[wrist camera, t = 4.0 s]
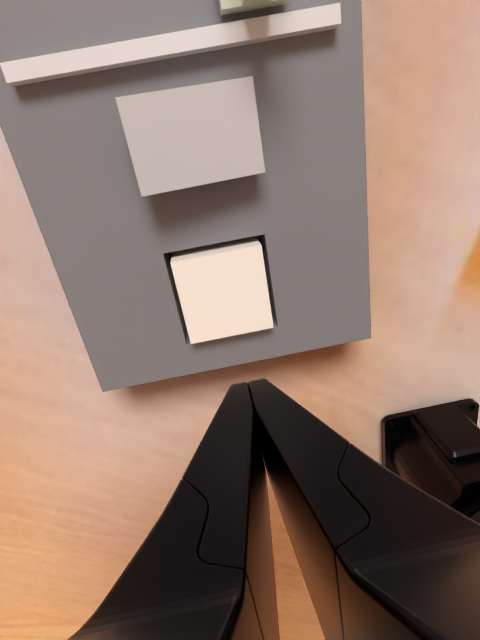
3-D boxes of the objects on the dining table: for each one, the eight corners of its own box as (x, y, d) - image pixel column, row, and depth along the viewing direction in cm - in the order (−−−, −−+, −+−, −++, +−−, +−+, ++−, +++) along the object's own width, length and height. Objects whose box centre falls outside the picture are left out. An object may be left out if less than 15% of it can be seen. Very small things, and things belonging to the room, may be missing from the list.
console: (349, 315, 22) (376, 343, 19) (114, 362, 22) (99, 398, 18) (323, -169, 14) (361, -269, 11) (-52, -106, 14) (-132, -191, 10)
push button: (264, 307, 20) (273, 327, 18) (191, 322, 20) (190, 344, 18) (253, 234, 19) (261, 244, 16) (173, 249, 18) (170, 262, 16)
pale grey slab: (258, 172, 15) (265, 172, 14) (141, 195, 15) (141, 196, 14) (245, 82, 14) (252, 76, 13) (116, 102, 13) (115, 97, 12)
